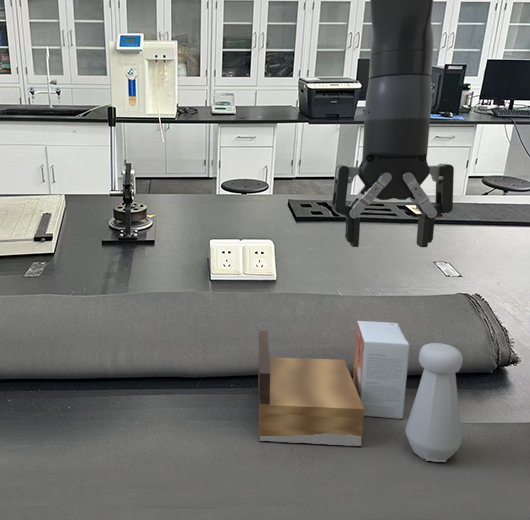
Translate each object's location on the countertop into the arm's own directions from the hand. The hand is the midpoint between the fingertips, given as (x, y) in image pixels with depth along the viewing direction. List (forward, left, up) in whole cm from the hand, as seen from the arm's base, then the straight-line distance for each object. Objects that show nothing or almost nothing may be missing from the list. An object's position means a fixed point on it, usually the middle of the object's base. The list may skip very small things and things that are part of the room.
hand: (387, 246), depth 69 cm
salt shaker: (-3, +13, -22) cm, 25 cm away
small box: (0, +1, -22) cm, 22 cm away
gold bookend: (+10, +5, -22) cm, 25 cm away
